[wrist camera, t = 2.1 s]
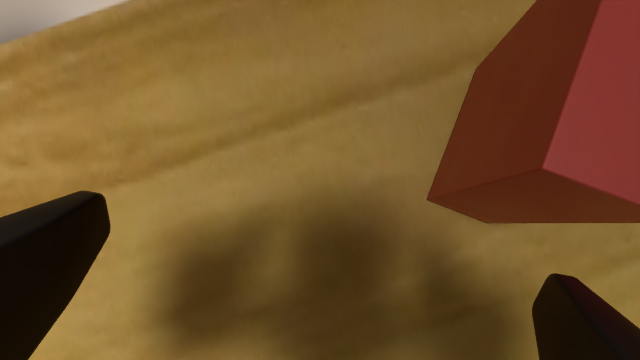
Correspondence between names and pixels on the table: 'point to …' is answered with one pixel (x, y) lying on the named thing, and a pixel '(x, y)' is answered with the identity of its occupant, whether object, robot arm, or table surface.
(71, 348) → the table surface
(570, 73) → the small book
